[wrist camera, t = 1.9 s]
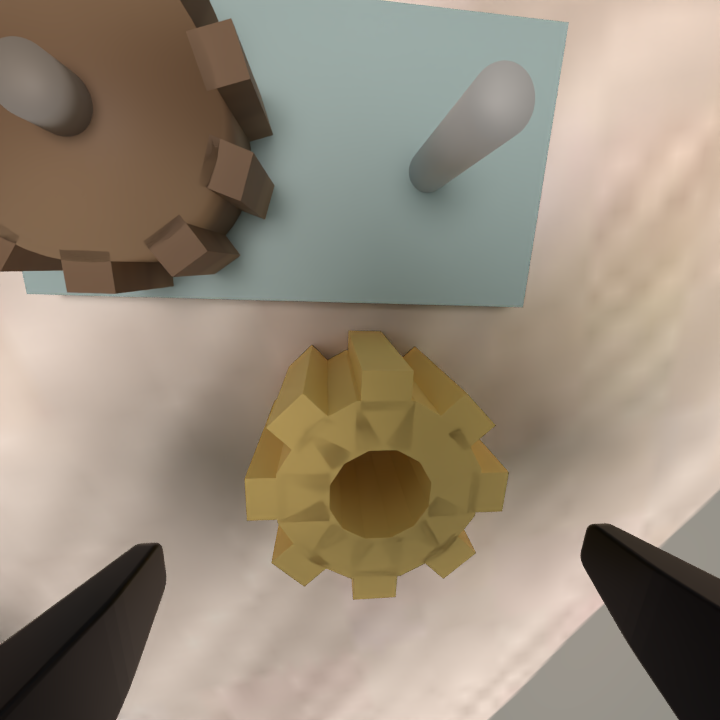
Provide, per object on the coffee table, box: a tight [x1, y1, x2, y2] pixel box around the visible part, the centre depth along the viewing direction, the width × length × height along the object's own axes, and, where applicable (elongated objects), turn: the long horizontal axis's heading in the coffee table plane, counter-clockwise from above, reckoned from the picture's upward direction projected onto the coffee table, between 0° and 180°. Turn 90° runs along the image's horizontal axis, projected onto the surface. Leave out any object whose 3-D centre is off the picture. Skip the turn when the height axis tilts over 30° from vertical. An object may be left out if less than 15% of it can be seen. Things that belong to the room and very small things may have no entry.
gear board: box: [22, 0, 569, 307], centre depth 8 cm, size 8×16×6 cm, turn 88°
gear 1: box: [0, 0, 275, 294], centre depth 8 cm, size 7×7×4 cm
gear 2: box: [244, 331, 509, 600], centre depth 11 cm, size 7×7×5 cm
